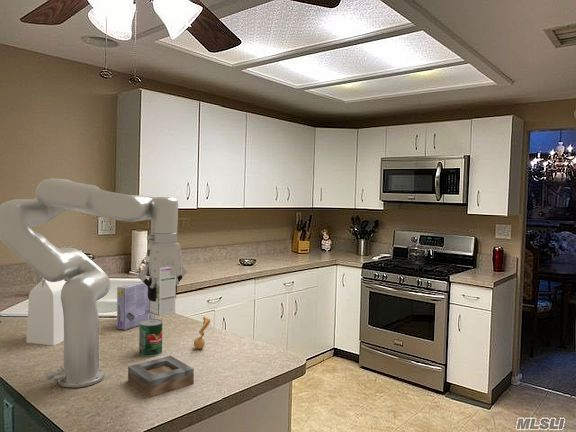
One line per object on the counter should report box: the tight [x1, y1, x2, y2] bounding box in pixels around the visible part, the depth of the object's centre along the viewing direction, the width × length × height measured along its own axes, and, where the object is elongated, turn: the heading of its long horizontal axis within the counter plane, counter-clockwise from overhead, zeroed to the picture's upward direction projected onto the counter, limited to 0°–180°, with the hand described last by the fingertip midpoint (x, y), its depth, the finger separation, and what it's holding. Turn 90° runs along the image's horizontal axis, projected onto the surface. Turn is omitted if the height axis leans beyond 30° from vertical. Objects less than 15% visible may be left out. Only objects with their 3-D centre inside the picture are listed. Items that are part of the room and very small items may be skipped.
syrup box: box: [149, 266, 177, 317], centre depth 131 cm, size 6×6×14 cm
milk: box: [26, 277, 67, 346], centre depth 167 cm, size 12×12×26 cm
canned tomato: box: [138, 318, 163, 358], centre depth 156 cm, size 8×8×11 cm
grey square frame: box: [127, 355, 195, 398], centre depth 132 cm, size 14×14×4 cm
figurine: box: [193, 316, 211, 350], centre depth 161 cm, size 8×6×12 cm
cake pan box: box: [116, 281, 156, 331], centre depth 189 cm, size 19×5×18 cm, turn 155°
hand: (162, 298), depth 131 cm, fingers closed on syrup box, 5 cm apart
